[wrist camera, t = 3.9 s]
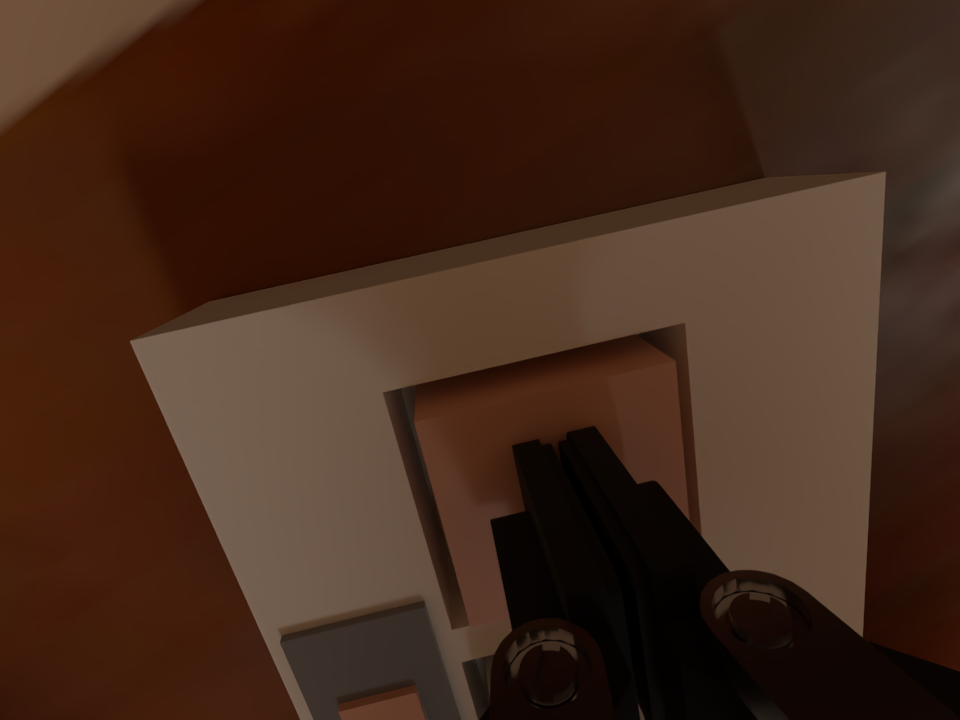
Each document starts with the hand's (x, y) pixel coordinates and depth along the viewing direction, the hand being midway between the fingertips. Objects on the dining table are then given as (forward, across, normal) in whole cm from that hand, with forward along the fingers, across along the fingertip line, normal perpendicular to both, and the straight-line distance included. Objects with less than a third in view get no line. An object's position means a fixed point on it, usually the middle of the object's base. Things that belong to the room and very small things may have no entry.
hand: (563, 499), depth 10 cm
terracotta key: (+3, 0, 0) cm, 3 cm away
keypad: (+4, 0, +7) cm, 8 cm away
